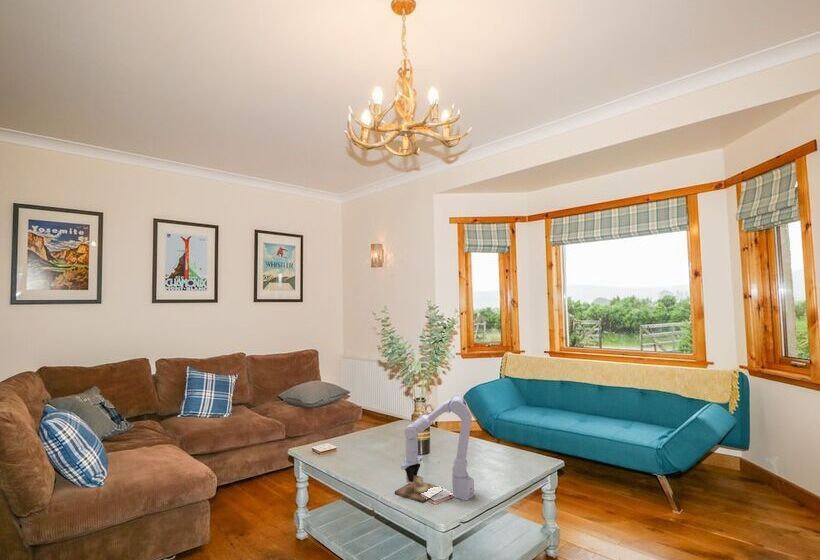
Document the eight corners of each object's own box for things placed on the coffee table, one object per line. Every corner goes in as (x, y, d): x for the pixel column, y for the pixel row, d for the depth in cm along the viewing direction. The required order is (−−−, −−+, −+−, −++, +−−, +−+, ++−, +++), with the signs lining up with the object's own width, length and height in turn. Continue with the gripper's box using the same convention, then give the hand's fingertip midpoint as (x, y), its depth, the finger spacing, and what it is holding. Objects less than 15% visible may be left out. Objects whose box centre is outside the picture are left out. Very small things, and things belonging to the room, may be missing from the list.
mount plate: (442, 490, 209) (442, 487, 209) (423, 503, 196) (423, 500, 196) (415, 482, 218) (415, 479, 218) (394, 494, 205) (394, 491, 206)
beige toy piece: (430, 490, 206) (430, 476, 206) (422, 495, 201) (422, 481, 201) (411, 484, 212) (411, 471, 213) (403, 489, 207) (403, 475, 207)
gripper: (414, 445, 217) (414, 473, 216) (395, 453, 205) (395, 483, 205) (426, 447, 213) (426, 476, 212) (407, 456, 201) (408, 487, 201)
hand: (412, 480), depth 208 cm, fingers closed on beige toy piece, 2 cm apart
